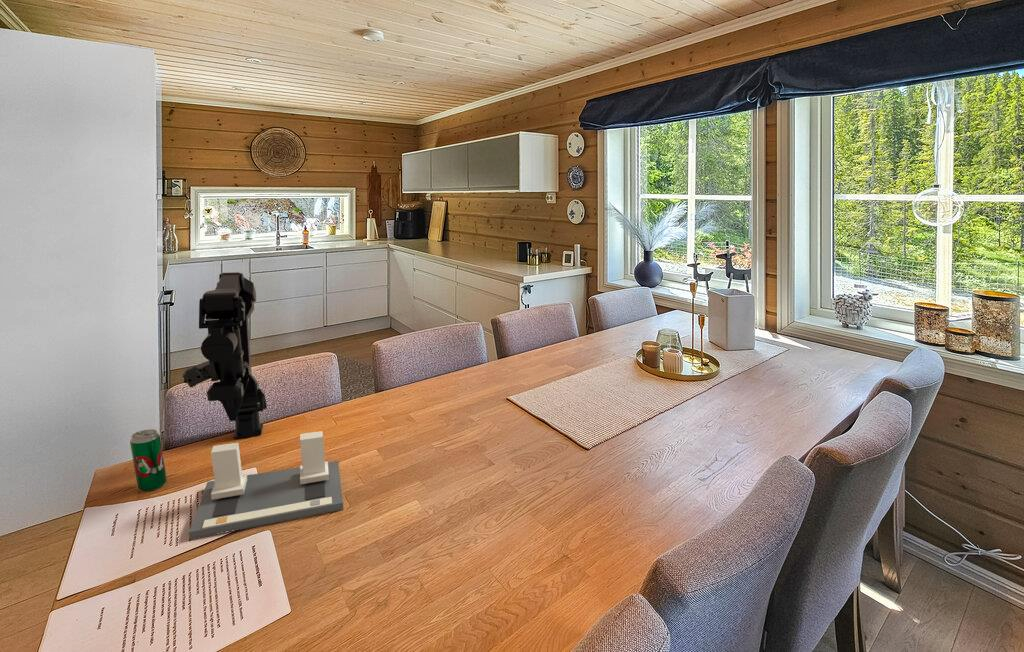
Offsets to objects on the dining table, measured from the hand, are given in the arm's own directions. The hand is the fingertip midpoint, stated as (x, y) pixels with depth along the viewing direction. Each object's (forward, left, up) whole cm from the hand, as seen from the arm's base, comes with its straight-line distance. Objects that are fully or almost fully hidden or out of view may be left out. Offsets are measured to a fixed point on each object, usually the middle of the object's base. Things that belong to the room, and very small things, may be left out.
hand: (234, 415), depth 112 cm
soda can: (+4, -16, -12) cm, 21 cm away
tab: (+15, +16, -10) cm, 24 cm away
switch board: (+18, +8, -12) cm, 23 cm away
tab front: (+15, 0, -10) cm, 18 cm away
